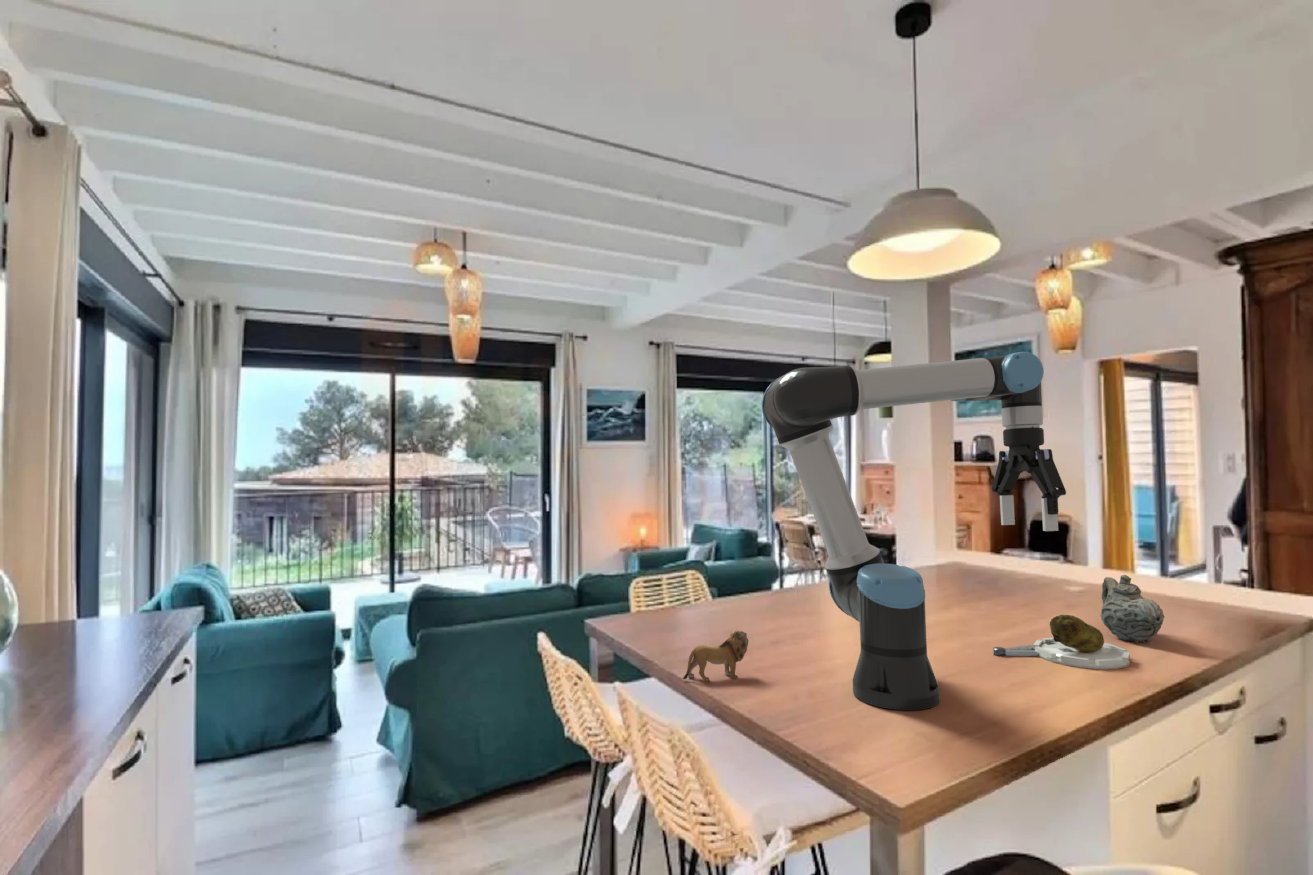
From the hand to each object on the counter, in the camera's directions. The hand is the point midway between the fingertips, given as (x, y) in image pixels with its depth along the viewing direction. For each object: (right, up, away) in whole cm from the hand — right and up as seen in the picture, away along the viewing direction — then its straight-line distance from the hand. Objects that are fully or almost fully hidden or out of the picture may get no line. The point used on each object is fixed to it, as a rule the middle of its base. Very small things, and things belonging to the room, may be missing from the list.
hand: (1028, 527), depth 133 cm
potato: (+13, -28, +4) cm, 31 cm away
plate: (+14, -29, +4) cm, 32 cm away
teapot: (+34, -29, +16) cm, 47 cm away
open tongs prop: (+4, -29, +7) cm, 30 cm away
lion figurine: (-66, -31, -3) cm, 73 cm away
